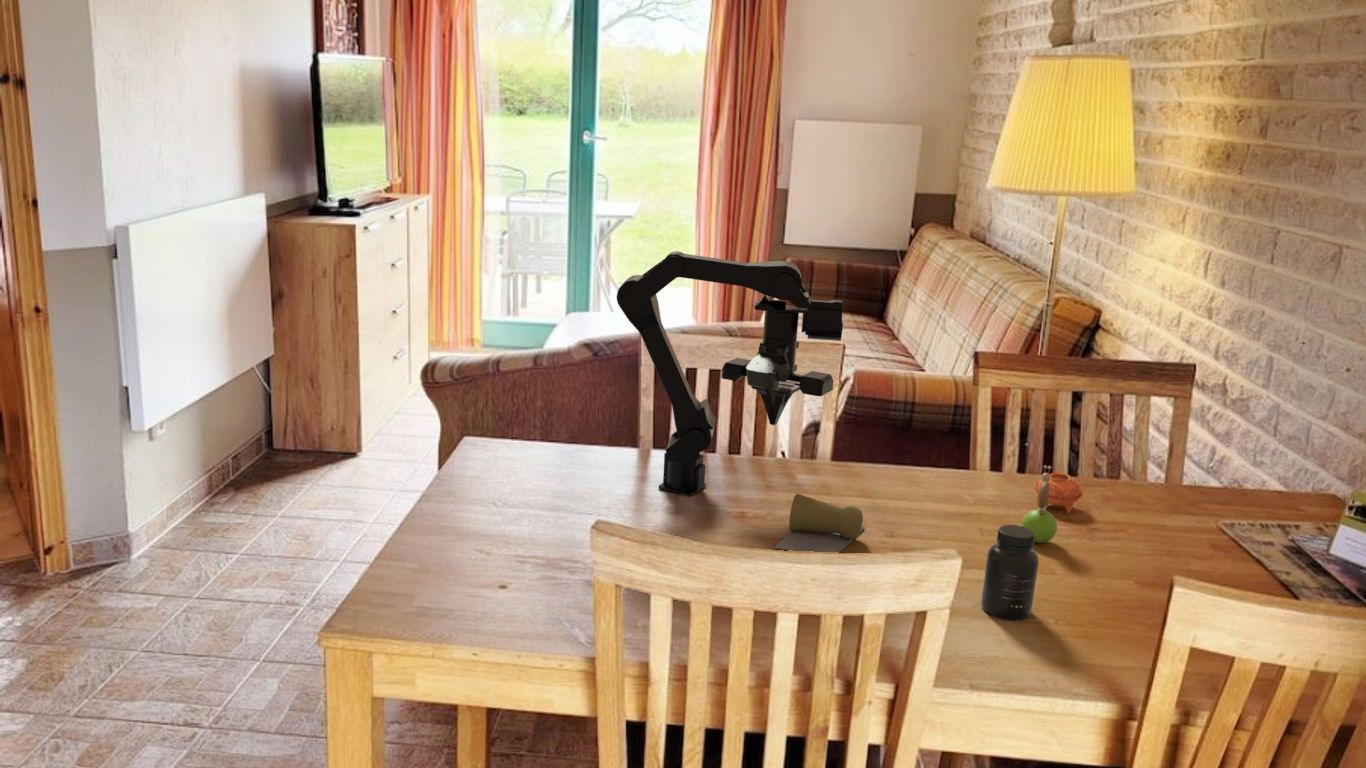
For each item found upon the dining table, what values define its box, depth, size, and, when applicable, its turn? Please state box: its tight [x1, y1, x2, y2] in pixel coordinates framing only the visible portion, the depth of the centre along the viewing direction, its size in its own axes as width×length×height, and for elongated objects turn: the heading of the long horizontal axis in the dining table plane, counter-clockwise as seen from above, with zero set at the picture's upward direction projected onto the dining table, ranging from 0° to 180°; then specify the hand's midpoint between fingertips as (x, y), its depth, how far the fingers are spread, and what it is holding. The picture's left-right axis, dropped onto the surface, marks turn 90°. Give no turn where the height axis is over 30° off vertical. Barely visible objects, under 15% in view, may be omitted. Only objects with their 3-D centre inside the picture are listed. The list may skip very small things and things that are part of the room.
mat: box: [775, 525, 865, 553], centre depth 171 cm, size 9×16×1 cm, turn 152°
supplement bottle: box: [980, 524, 1040, 621], centre depth 148 cm, size 7×7×12 cm
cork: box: [788, 493, 864, 540], centre depth 171 cm, size 6×6×11 cm
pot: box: [1034, 472, 1083, 514], centre depth 190 cm, size 8×8×7 cm
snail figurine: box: [1021, 465, 1058, 544], centre depth 173 cm, size 5×6×12 cm
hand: (773, 424), depth 185 cm, fingers closed
